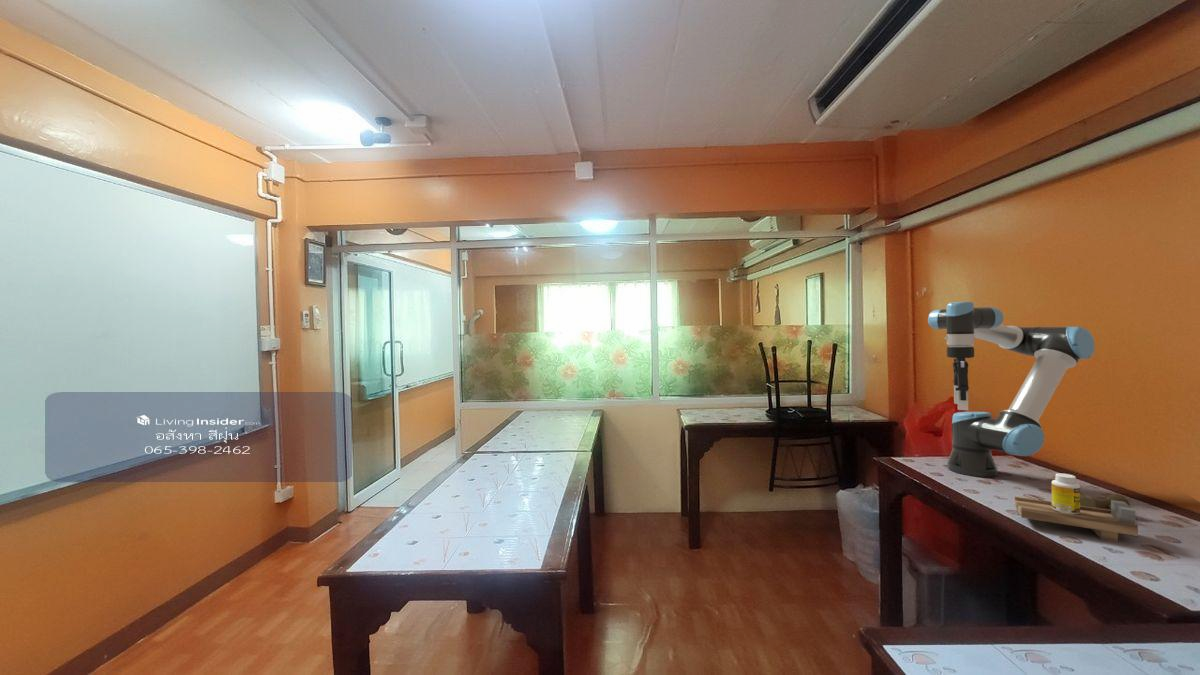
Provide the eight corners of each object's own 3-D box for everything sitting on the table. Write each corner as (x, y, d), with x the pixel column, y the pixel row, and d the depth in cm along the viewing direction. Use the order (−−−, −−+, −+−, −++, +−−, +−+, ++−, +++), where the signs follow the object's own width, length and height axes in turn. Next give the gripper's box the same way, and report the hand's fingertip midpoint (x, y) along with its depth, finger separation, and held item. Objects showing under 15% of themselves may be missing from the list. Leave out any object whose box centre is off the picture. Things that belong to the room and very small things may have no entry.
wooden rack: (1014, 513, 136) (1014, 485, 136) (1122, 530, 123) (1122, 500, 123) (1021, 526, 128) (1021, 496, 127) (1138, 545, 115) (1137, 512, 115)
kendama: (1075, 498, 148) (1146, 523, 128) (1045, 499, 148) (1110, 524, 128) (1074, 480, 148) (1145, 501, 128) (1043, 481, 148) (1109, 503, 128)
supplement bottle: (1077, 517, 122) (1077, 479, 122) (1049, 510, 127) (1048, 474, 127) (1082, 512, 125) (1082, 475, 125) (1054, 506, 130) (1054, 470, 130)
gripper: (944, 344, 169) (944, 400, 170) (949, 347, 149) (950, 411, 149) (969, 344, 165) (970, 402, 165) (978, 347, 144) (979, 413, 145)
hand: (960, 406), depth 157 cm, fingers open, 13 cm apart
